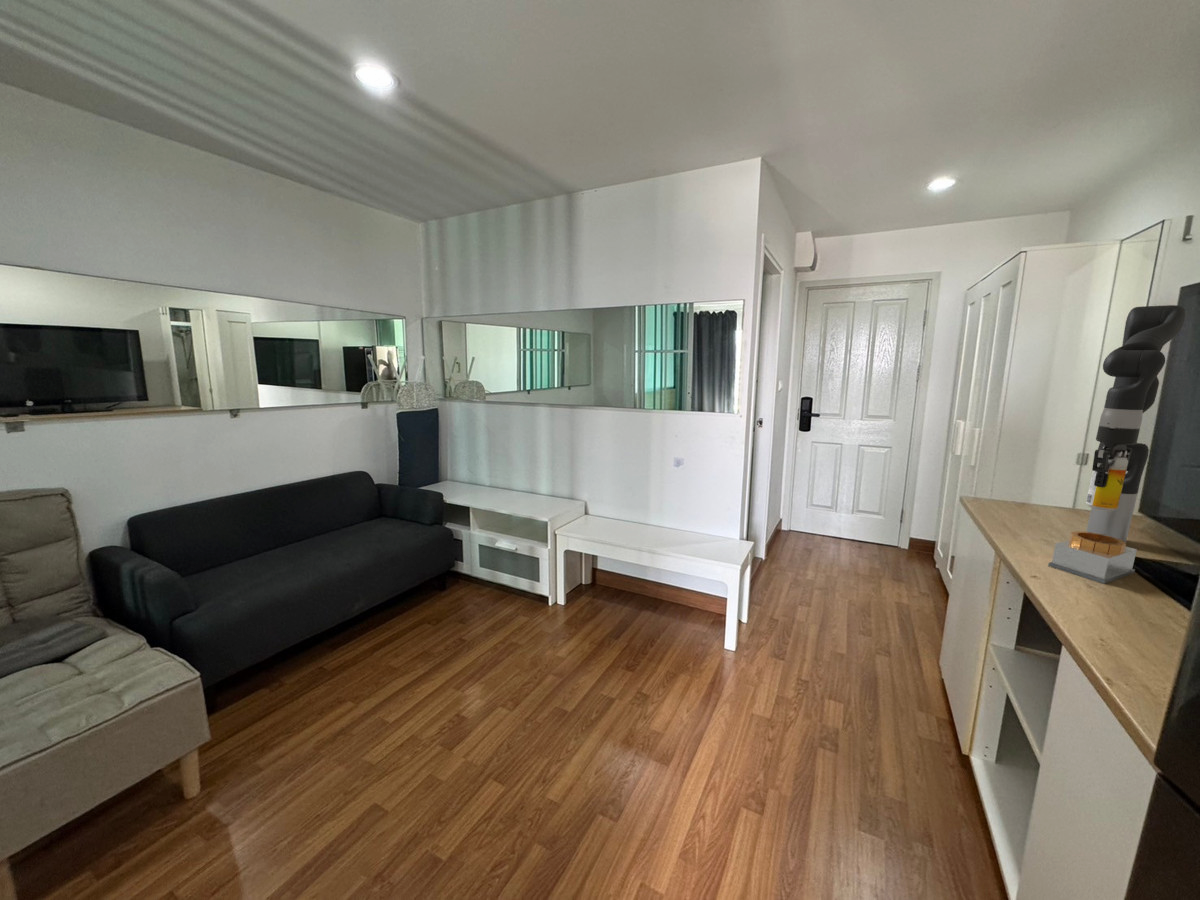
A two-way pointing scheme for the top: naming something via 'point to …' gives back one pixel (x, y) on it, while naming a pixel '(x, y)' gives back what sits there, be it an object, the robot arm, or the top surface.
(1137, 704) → the top surface
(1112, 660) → the top surface
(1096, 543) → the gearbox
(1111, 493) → the beer can
